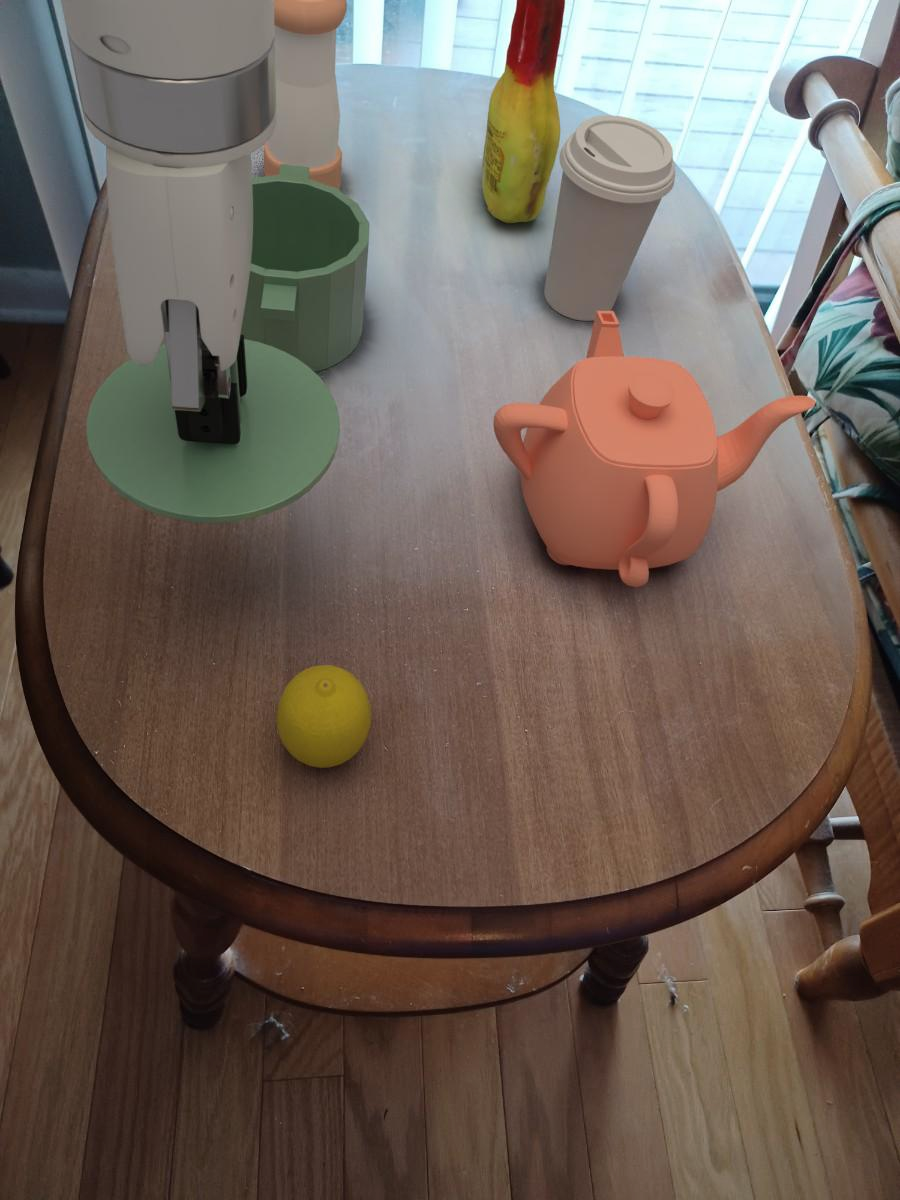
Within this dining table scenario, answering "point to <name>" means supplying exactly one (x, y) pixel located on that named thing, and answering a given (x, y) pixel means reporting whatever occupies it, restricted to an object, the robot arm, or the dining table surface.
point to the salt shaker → (306, 89)
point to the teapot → (627, 458)
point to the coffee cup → (604, 210)
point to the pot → (306, 268)
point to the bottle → (524, 115)
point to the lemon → (323, 716)
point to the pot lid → (213, 470)
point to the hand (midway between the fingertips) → (214, 412)
